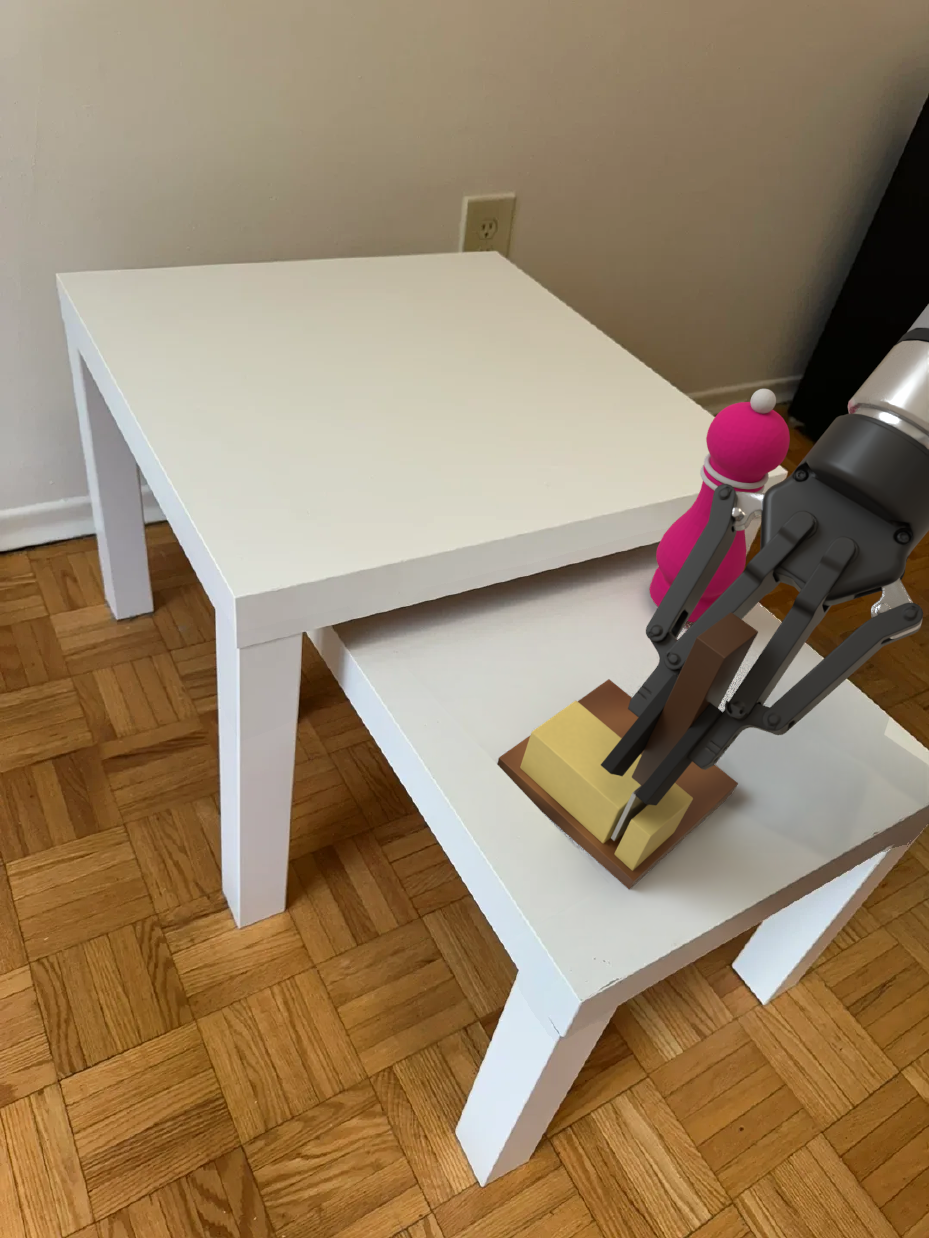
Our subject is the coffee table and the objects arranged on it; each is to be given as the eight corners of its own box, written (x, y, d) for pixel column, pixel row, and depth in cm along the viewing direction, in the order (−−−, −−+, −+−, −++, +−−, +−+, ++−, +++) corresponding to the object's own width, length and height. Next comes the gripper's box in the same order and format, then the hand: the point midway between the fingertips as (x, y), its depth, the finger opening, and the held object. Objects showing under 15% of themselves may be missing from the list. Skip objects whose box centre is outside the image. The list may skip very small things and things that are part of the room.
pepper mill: (661, 561, 84) (735, 356, 70) (736, 595, 82) (827, 390, 68) (630, 602, 79) (704, 390, 66) (710, 639, 77) (803, 428, 63)
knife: (668, 809, 61) (767, 625, 49) (623, 849, 58) (716, 665, 46) (647, 790, 62) (739, 605, 50) (601, 829, 59) (687, 643, 47)
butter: (674, 832, 61) (693, 798, 58) (632, 871, 59) (650, 837, 56) (562, 735, 66) (576, 699, 63) (519, 768, 63) (531, 731, 60)
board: (731, 795, 66) (738, 783, 65) (627, 893, 59) (633, 881, 58) (603, 691, 71) (608, 678, 70) (494, 770, 64) (498, 757, 63)
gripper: (1021, 544, 50) (745, 875, 53) (790, 411, 57) (553, 710, 59) (1043, 499, 44) (725, 881, 46) (779, 355, 50) (511, 695, 52)
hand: (629, 784), depth 53 cm, fingers closed on knife, 2 cm apart
